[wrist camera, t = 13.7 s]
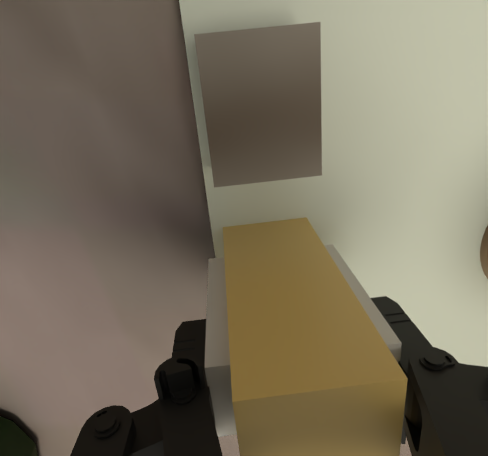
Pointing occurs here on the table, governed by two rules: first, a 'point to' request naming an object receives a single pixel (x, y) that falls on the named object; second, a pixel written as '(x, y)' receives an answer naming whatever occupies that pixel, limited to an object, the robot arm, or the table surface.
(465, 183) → the board
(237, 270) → the yellow rectangular block
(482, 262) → the bobbin
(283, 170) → the notch board
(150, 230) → the table surface
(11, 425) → the bottle
